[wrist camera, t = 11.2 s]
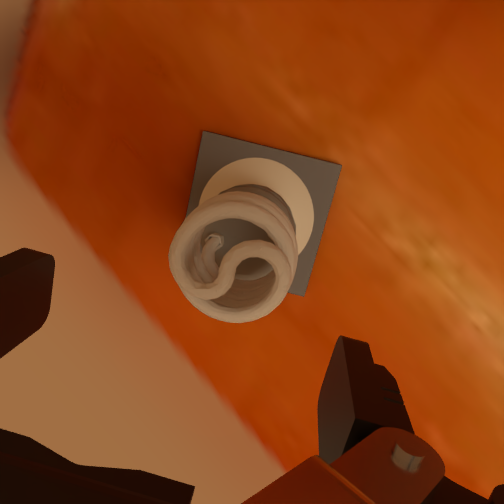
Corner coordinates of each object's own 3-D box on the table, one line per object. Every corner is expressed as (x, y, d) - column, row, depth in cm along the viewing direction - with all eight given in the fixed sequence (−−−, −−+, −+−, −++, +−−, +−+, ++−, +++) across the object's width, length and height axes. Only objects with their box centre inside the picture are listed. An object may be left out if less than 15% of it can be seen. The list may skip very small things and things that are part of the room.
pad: (205, 131, 29) (202, 130, 28) (340, 164, 29) (342, 165, 28) (179, 259, 31) (176, 263, 31) (304, 292, 31) (303, 297, 30)
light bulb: (228, 268, 30) (183, 353, 19) (201, 189, 29) (135, 228, 17) (309, 246, 29) (314, 321, 18) (285, 163, 28) (272, 185, 16)
